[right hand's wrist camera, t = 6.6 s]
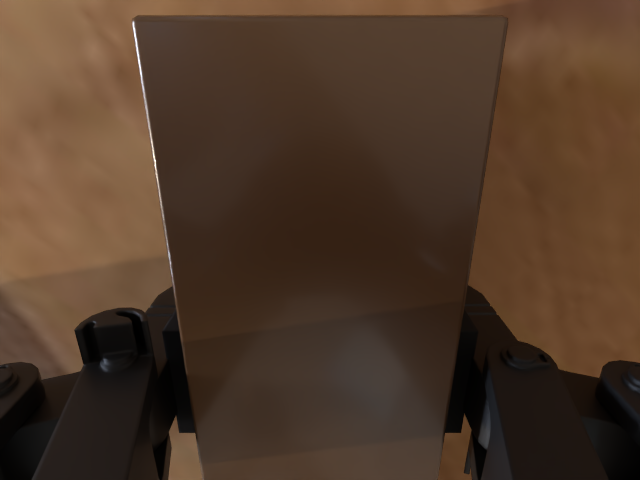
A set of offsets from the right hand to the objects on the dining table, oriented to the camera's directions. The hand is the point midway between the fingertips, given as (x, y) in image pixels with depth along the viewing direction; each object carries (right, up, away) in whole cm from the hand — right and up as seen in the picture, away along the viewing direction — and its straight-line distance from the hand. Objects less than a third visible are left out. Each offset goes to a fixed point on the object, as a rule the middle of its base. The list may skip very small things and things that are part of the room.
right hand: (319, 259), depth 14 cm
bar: (0, -22, +9) cm, 23 cm away
